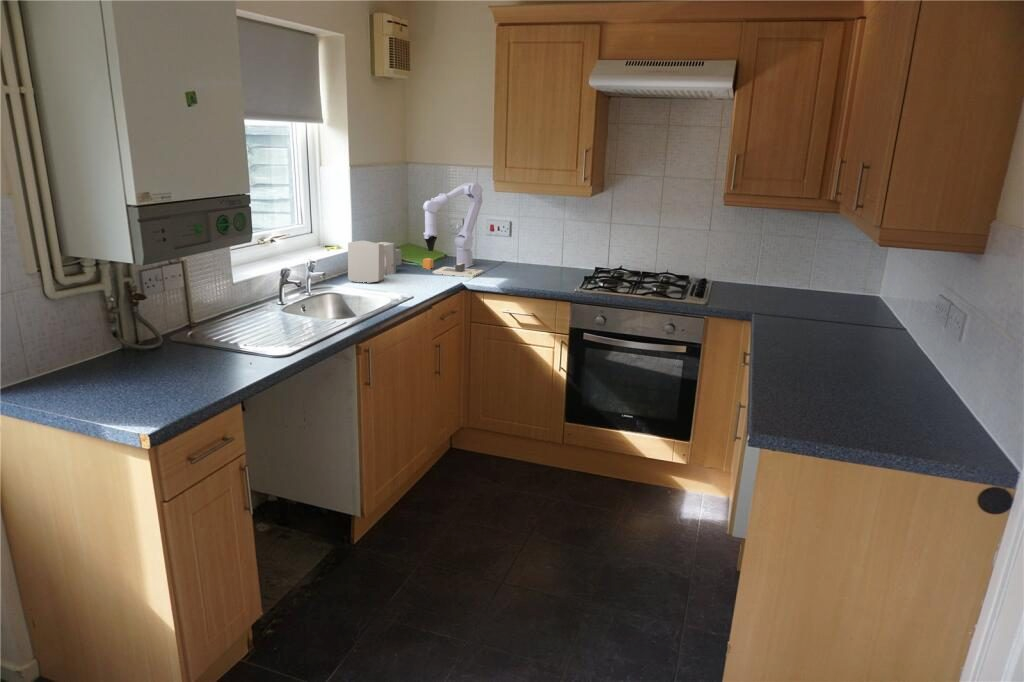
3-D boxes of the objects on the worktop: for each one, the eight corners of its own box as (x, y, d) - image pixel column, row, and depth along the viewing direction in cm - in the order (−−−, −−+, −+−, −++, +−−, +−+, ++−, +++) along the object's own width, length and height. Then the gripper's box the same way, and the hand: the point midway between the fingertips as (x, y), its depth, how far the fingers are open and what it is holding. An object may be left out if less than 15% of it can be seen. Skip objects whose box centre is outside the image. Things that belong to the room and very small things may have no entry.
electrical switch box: (387, 282, 333) (387, 240, 330) (378, 284, 318) (378, 240, 315) (357, 280, 334) (358, 239, 331) (347, 282, 319) (348, 239, 316)
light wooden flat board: (444, 268, 357) (444, 265, 356) (483, 272, 350) (483, 269, 350) (432, 273, 344) (432, 270, 344) (472, 277, 338) (472, 274, 337)
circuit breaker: (404, 271, 349) (403, 241, 344) (385, 275, 337) (384, 245, 333) (392, 269, 352) (392, 240, 348) (373, 273, 341) (372, 243, 336)
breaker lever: (459, 269, 349) (459, 262, 348) (464, 269, 348) (464, 263, 347) (455, 270, 345) (455, 264, 344) (460, 271, 344) (460, 264, 343)
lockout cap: (426, 267, 359) (426, 258, 358) (433, 268, 358) (433, 258, 357) (422, 268, 356) (422, 259, 354) (429, 269, 354) (429, 260, 353)
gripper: (427, 222, 356) (427, 248, 360) (418, 225, 343) (418, 252, 347) (440, 223, 355) (440, 249, 359) (431, 226, 341) (432, 253, 345)
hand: (430, 250), depth 353 cm, fingers closed
